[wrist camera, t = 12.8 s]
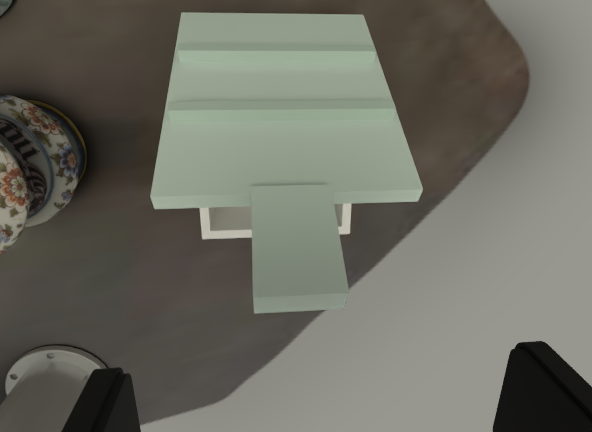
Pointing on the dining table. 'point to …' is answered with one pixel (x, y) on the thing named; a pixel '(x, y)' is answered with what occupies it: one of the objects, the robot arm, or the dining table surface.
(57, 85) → the dining table surface
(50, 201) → the apothecary jar
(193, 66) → the lid
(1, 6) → the coffee jar
